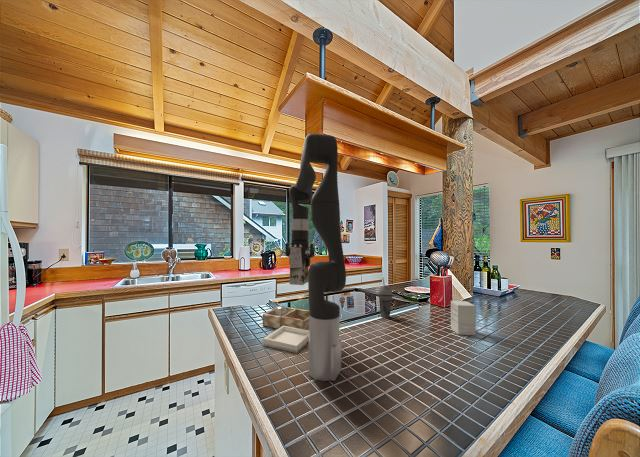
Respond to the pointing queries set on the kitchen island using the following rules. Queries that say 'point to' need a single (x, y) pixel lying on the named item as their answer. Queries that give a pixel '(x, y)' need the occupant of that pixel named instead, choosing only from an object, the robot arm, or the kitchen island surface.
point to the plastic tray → (287, 339)
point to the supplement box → (463, 317)
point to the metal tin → (280, 310)
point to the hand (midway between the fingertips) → (299, 266)
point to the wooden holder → (287, 319)
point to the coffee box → (298, 266)
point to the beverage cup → (385, 301)
